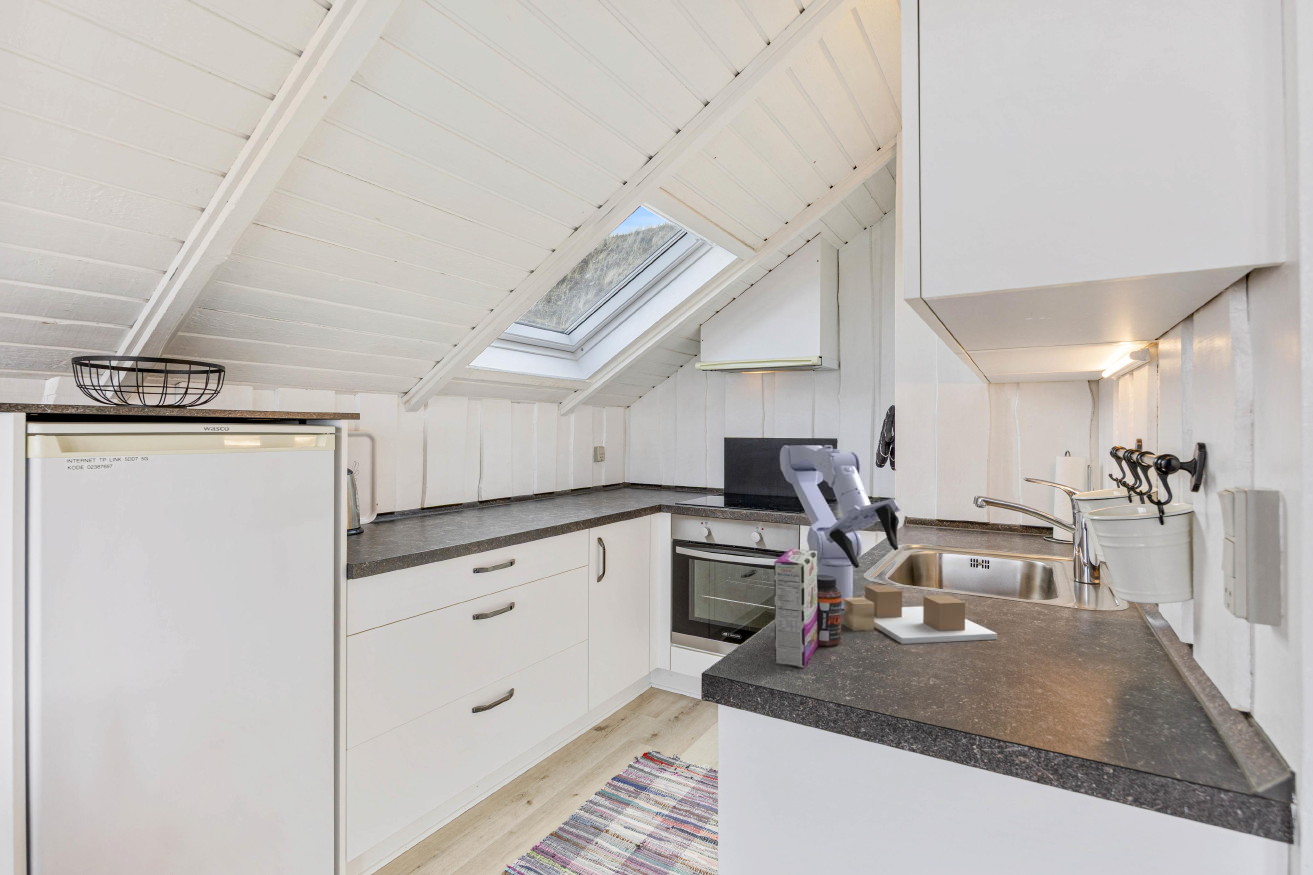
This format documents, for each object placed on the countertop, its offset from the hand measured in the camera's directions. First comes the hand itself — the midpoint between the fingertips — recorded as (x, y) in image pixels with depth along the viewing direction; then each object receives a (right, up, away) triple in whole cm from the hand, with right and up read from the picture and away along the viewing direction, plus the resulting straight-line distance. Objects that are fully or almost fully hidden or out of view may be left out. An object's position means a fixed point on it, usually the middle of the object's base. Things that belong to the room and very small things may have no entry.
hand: (874, 556), depth 114 cm
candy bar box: (-16, -14, -11) cm, 24 cm away
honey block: (-1, -14, +4) cm, 15 cm away
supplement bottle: (-10, -14, -4) cm, 18 cm away
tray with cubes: (+11, -14, +5) cm, 18 cm away
